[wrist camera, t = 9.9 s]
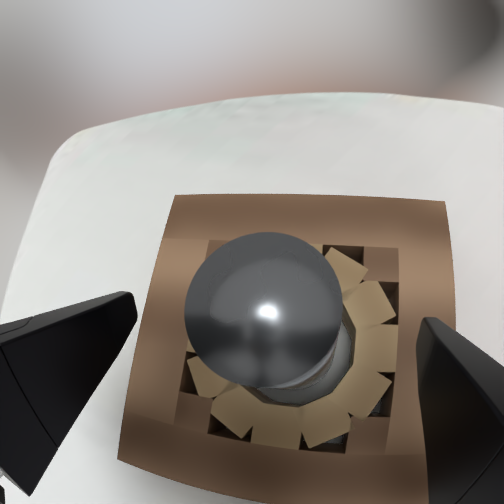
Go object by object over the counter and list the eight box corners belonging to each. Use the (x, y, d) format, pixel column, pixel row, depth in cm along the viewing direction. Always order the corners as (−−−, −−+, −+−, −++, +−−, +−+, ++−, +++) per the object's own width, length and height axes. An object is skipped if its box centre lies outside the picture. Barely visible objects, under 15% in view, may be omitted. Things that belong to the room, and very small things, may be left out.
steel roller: (296, 405, 16) (260, 421, 7) (242, 354, 18) (156, 309, 9) (349, 347, 17) (375, 295, 8) (293, 300, 18) (258, 206, 10)
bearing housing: (416, 493, 12) (432, 508, 9) (144, 453, 16) (117, 459, 14) (432, 227, 18) (444, 201, 16) (192, 218, 22) (175, 195, 20)
